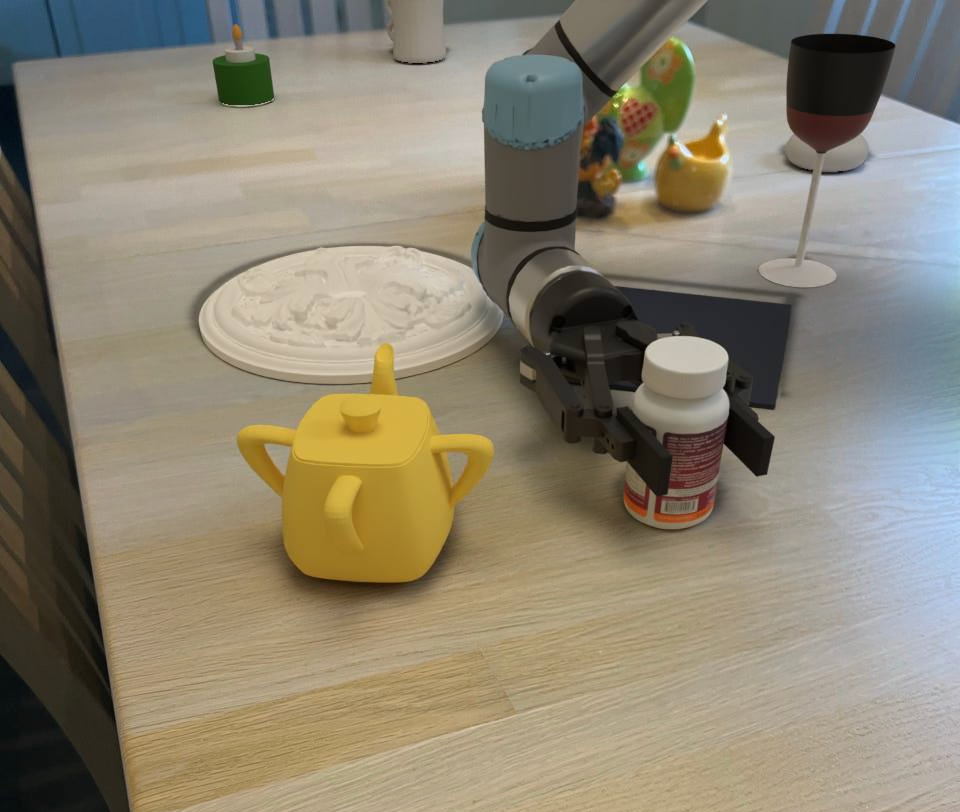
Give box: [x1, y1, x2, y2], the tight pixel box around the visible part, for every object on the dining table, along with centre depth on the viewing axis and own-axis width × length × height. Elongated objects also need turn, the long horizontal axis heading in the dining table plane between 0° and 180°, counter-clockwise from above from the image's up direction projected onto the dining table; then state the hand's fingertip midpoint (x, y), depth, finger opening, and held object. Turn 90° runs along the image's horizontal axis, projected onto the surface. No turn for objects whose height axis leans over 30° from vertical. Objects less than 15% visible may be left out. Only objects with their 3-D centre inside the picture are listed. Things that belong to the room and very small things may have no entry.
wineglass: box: [758, 33, 896, 288], centre depth 94 cm, size 8×9×20 cm
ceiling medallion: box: [198, 245, 505, 385], centre depth 93 cm, size 28×28×3 cm
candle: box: [212, 23, 275, 105], centre depth 150 cm, size 8×8×10 cm
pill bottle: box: [623, 336, 729, 530], centre depth 66 cm, size 6×6×11 cm
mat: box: [567, 285, 793, 410], centre depth 89 cm, size 20×20×1 cm
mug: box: [385, 0, 447, 64], centre depth 170 cm, size 12×9×10 cm
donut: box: [785, 133, 870, 173], centre depth 126 cm, size 10×4×10 cm
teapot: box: [236, 343, 495, 583], centre depth 64 cm, size 14×13×10 cm
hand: (715, 466), depth 62 cm, fingers closed on pill bottle, 6 cm apart
